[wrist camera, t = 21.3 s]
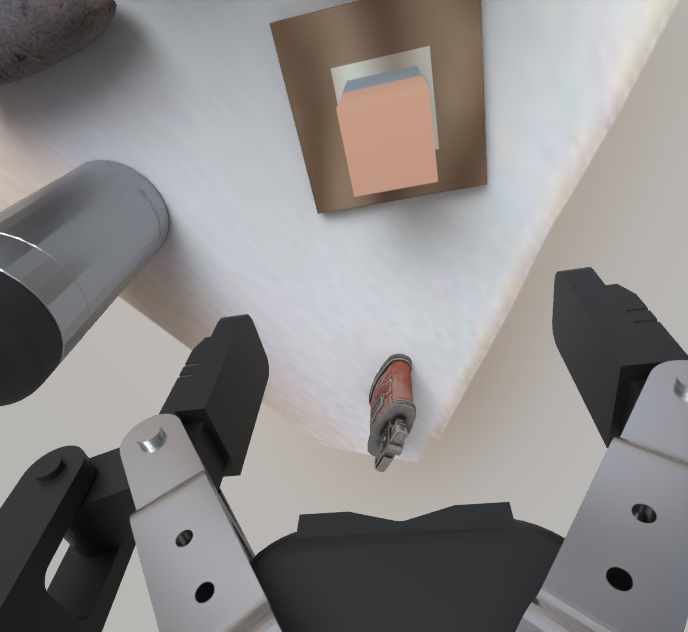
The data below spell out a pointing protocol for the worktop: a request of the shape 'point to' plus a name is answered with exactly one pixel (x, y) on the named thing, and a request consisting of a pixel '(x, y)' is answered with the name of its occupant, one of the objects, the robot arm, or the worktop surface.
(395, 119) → the terracotta block
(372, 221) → the worktop surface
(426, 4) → the walnut board
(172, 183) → the worktop surface
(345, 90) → the slate block
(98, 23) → the perforated stone tool
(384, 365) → the lighter
